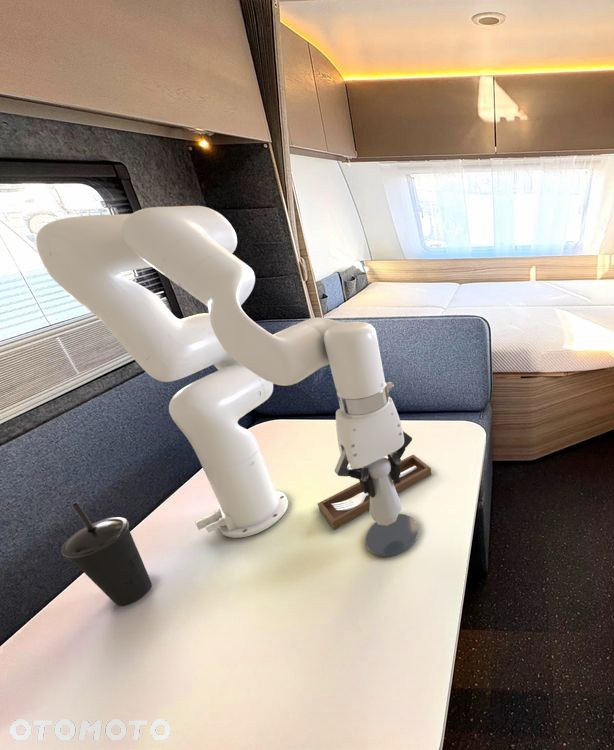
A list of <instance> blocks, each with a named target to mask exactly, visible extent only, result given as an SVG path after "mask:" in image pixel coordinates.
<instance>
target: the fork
mask: <svg viewBox="0 0 614 750" xmlns="http://www.w3.org/2000/svg"><path fill="white" fill-rule="evenodd" d="M415 469H417V467H416V466H413V467H411V468H409V469H407V470H405V471H403V472H402V473H401V475H399V478H400V477H402V476H404V475H406V474H407V473H409V472H411V471H413V470H415ZM392 482H393V480H392ZM367 495H369V494H368V493H366V494H365V493H364V492H362V493H360V494H357V495H356V496H354V497H352V498H350V499H348V500H346V501H343V502H339V503H334V504H332V505H335V506H333V507H334V508H341V509H336V510H349V509H353V508H354V507H356V506H358V505H360V504H362V503H363V502H364V499H365V497H366V496H367ZM339 504H341V505H339ZM339 506H341V507H339Z"/></svg>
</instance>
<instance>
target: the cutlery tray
mask: <svg viewBox="0 0 614 750" xmlns="http://www.w3.org/2000/svg"><path fill="white" fill-rule="evenodd" d="M413 466H416V467H417V469H415V470H413V471H411V472H409V473H407V474H406V475H404V476H402V477H400V483H398V484H396V483H395V482H394V481H393V484H394V487H395V489H396V492H397V494H398V495H399V494H400V493H402V492H403V491H405V490H407V489H409V488H411V487H413V486H414V485H416V484H418V483H420V482H421V481H423V480H425V479H426V478H428V477H430V476H432V468H431V467H430V466H429V465H428V464H427V463H425V462H424V461H423V460H421V459H420V458H419V457H417V456H416V455H415V453H414V454H411V455H409V456H407V457H405V458H402V459H401V462H400V463H399V468H400V473H402V472H403V471H405V470H407V469H409V468H411V467H413ZM362 492H363V491H362V489H361V485H360V481H359V482H357V483H354V484H352V485H351V486H349V487H347V488H345V489H343V490H341V491H339V492H337V493H335V494H333V495H331V496H329V497H327V498H326V499H323V500H322V501H319V502H317V506H318V507H317V508H318V510H319V512H320V513H321V515H322V516H323V517H324V519H325V521H327V523H328V525H329V526H330V527H331V529H332V530H333V531H335V530H337V529H338V528H340V527H342V526H344V525H346V524H347V523H349V522H351V521H353V520H355V519H356V518H358V517H359V516H361V515H363V514H365V513H366V512H368V511H369V510H370V495H367V496H366V497H365V499H364V502H363V503H362V504H360V505H358V506H356V507H354V508H353V509H349V510H336V509H341V508H334V507H333V506H335V505H332V504H334V503H339V502H343V501H346V500H348V499H350V498H352V497H354V496H356V495H357V494H360V493H362ZM339 505H341V504H339ZM339 507H341V506H339Z"/></svg>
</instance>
